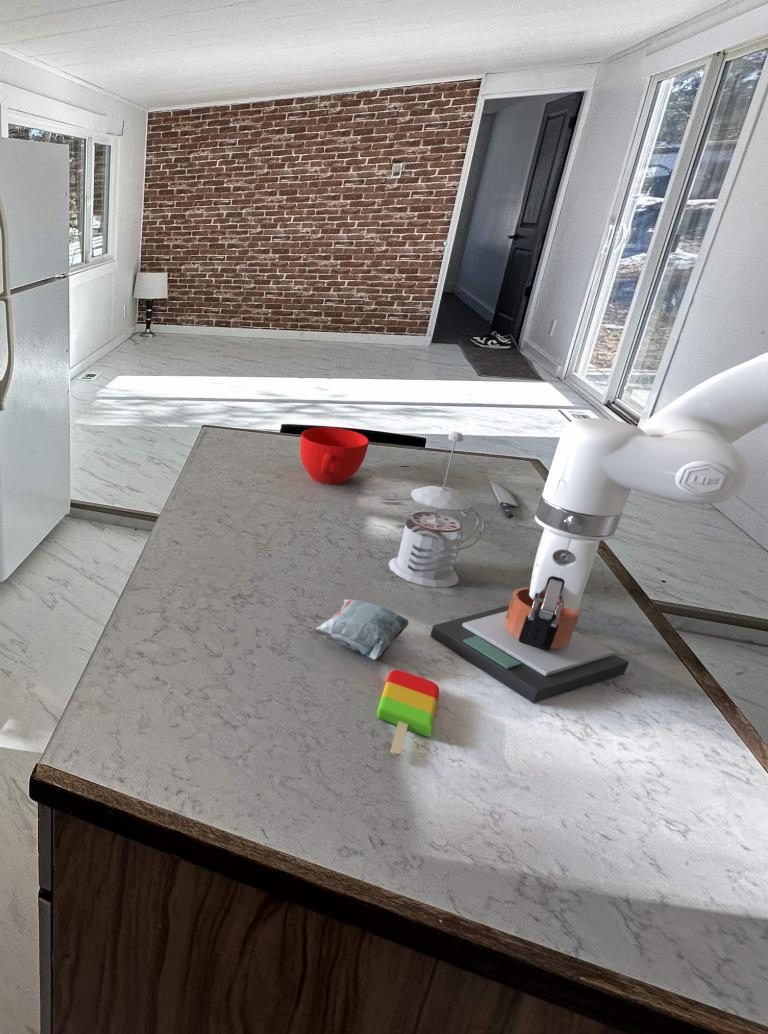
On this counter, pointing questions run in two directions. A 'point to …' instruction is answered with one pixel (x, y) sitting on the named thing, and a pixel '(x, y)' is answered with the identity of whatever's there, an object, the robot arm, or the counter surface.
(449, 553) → the french press
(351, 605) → the packaged food
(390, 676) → the popsicle
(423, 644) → the counter surface
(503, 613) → the scale
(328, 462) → the ceramic cup
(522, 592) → the bowl
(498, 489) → the chef's knife
